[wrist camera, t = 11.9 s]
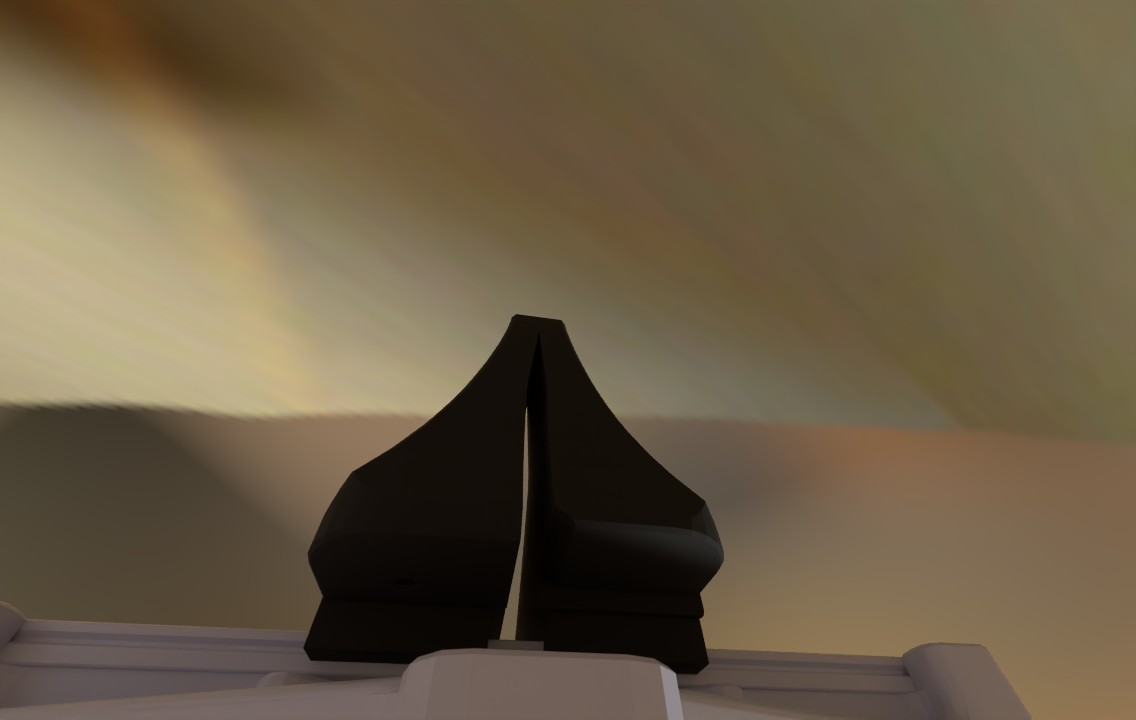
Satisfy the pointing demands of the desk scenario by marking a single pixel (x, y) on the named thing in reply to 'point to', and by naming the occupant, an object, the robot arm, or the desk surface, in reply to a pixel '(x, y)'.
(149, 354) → the desk surface
